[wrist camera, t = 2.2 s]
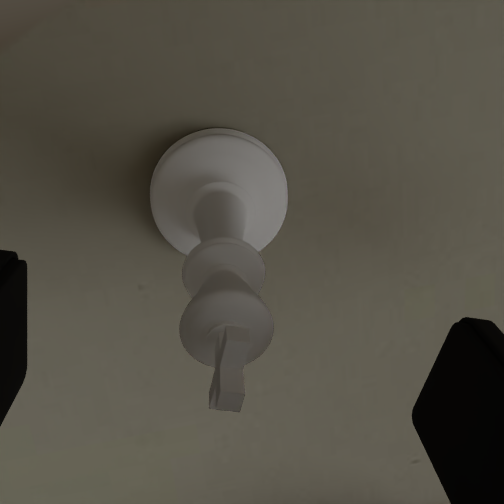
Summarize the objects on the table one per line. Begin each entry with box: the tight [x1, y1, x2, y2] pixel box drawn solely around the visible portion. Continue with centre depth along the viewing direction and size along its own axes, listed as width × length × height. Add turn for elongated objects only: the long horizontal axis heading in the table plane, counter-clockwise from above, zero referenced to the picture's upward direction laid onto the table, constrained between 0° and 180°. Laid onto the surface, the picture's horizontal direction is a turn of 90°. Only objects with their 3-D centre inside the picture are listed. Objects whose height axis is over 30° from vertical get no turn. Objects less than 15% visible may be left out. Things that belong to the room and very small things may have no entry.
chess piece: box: [150, 128, 288, 412], centre depth 13 cm, size 5×5×10 cm
